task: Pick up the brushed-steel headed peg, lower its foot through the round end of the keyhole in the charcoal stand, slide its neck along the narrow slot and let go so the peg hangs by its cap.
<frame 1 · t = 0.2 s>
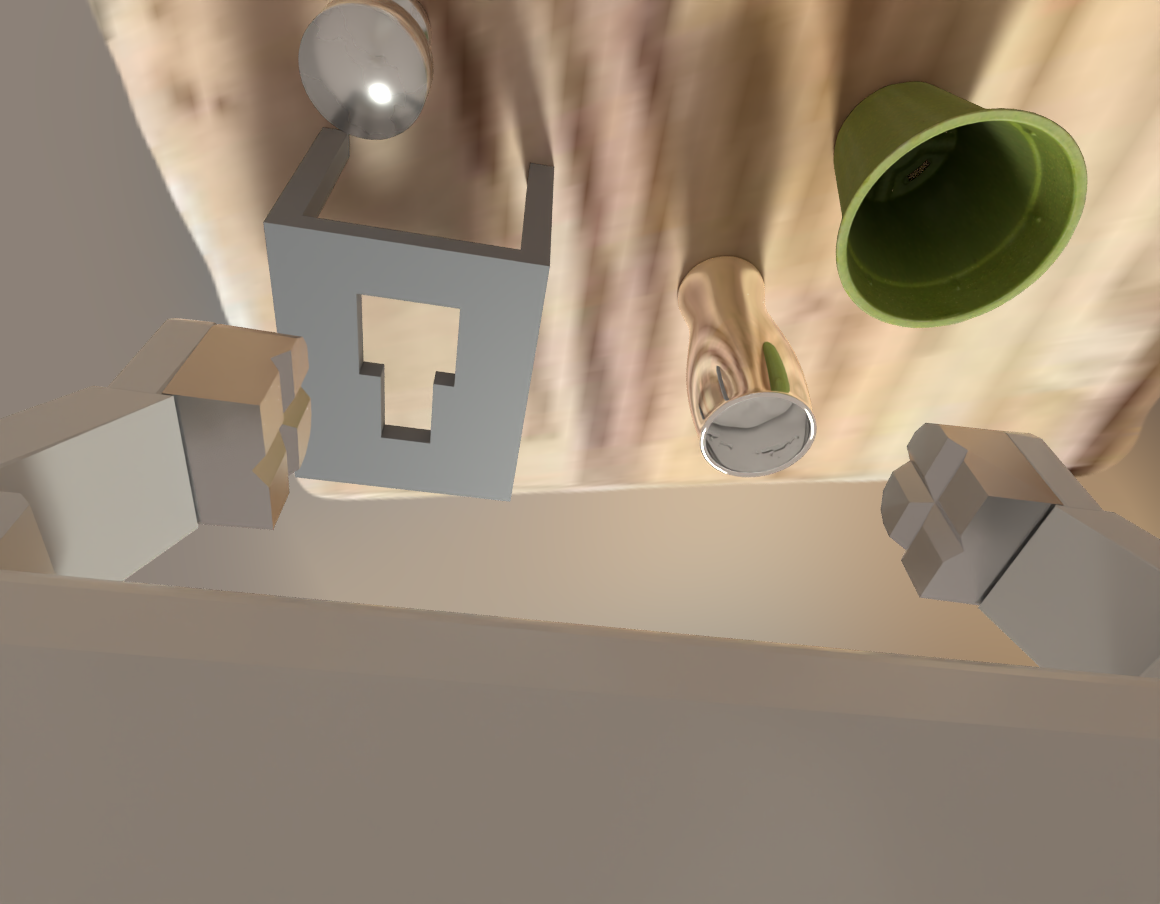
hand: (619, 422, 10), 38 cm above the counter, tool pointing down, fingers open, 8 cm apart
plant pot: (888, 141, 46), on the counter
steel peg: (391, 30, 41), on the counter
beer glass: (719, 292, 53), on the counter
keyhole stand: (434, 275, 52), on the counter
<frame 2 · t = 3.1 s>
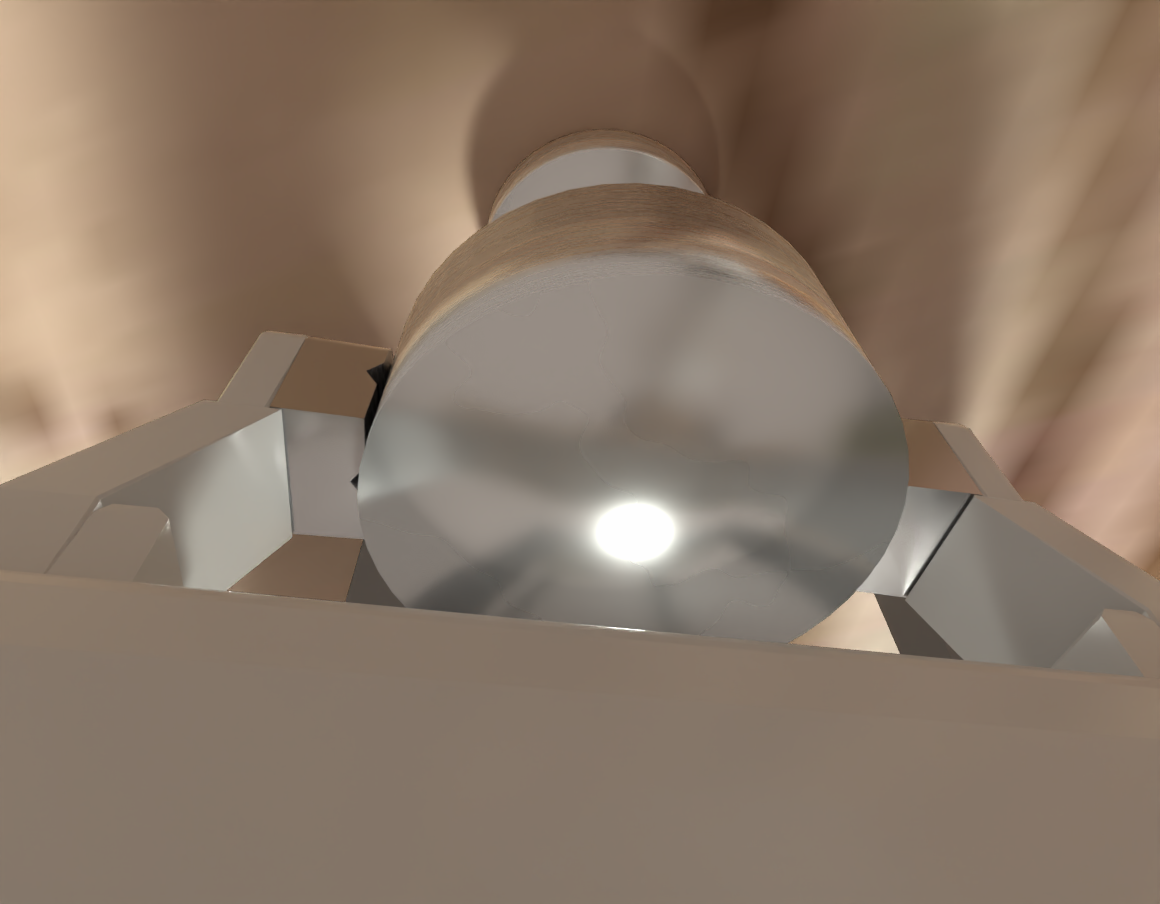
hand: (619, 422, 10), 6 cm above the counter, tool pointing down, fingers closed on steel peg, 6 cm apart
steel peg: (601, 250, 14), on the counter, touching gripper
keyhole stand: (605, 709, 24), on the counter
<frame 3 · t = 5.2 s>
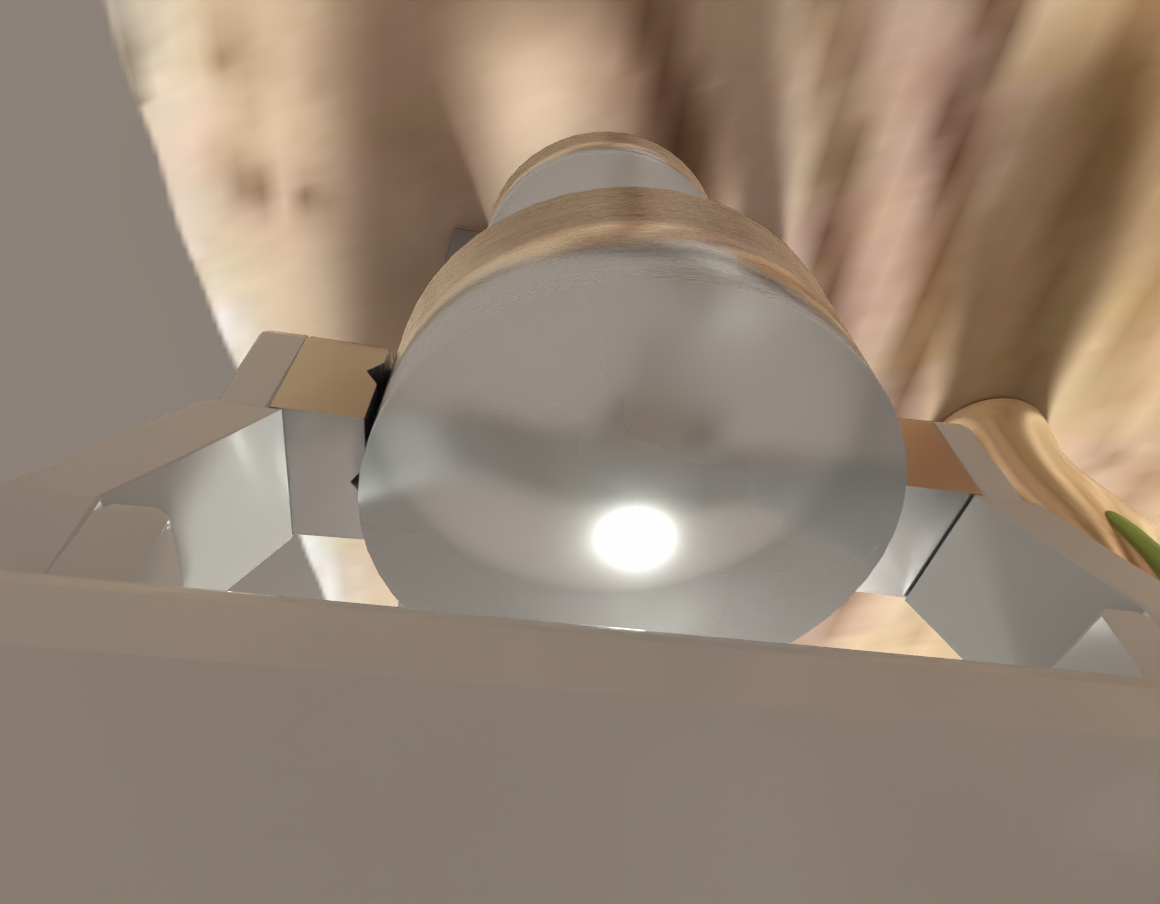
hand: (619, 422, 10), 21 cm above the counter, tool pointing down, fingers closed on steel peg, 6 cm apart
steel peg: (601, 252, 14), point 16 cm above the counter, touching gripper
beer glass: (979, 444, 38), on the counter
keyhole stand: (585, 429, 36), on the counter
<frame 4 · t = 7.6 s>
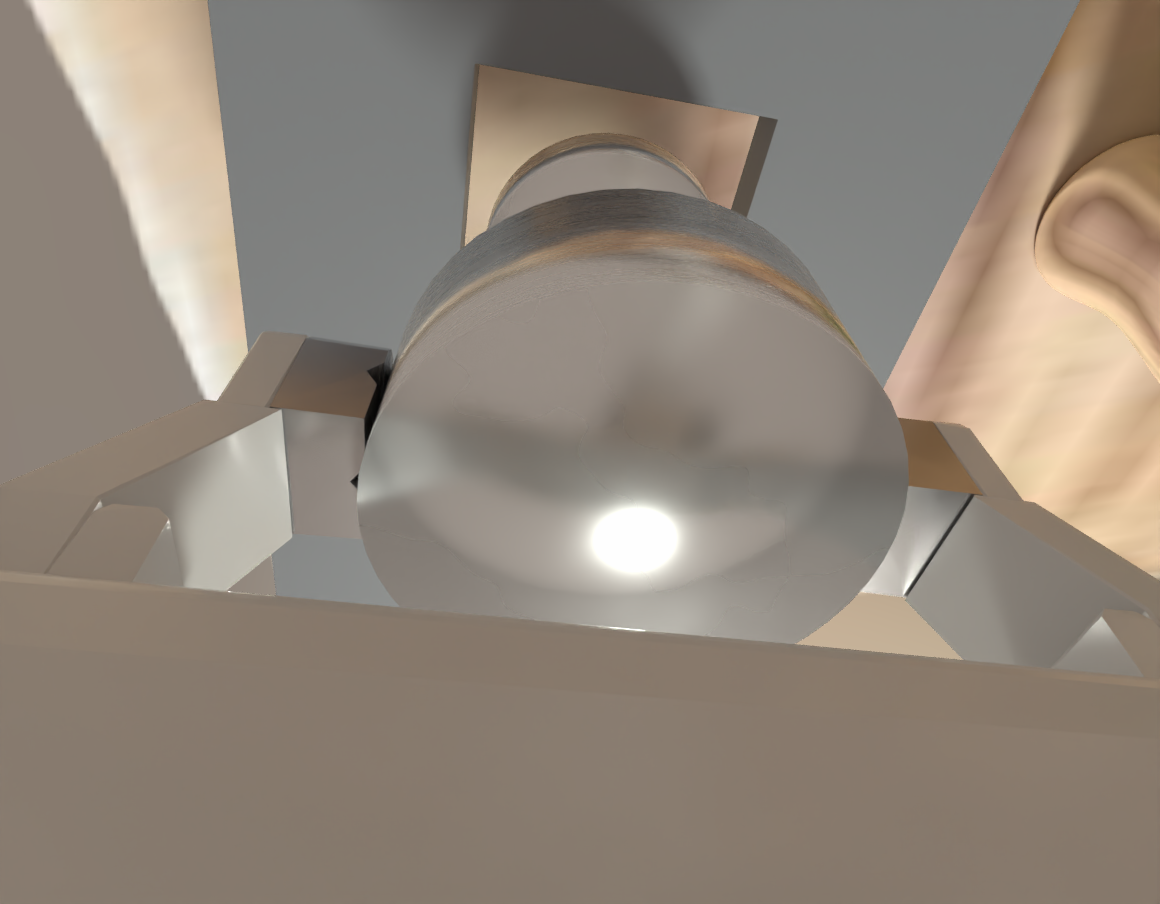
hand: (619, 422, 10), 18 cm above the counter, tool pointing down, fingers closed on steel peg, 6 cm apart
steel peg: (601, 253, 14), point 12 cm above the counter, touching gripper
beer glass: (1118, 218, 27), on the counter
keyhole stand: (569, 183, 26), on the counter
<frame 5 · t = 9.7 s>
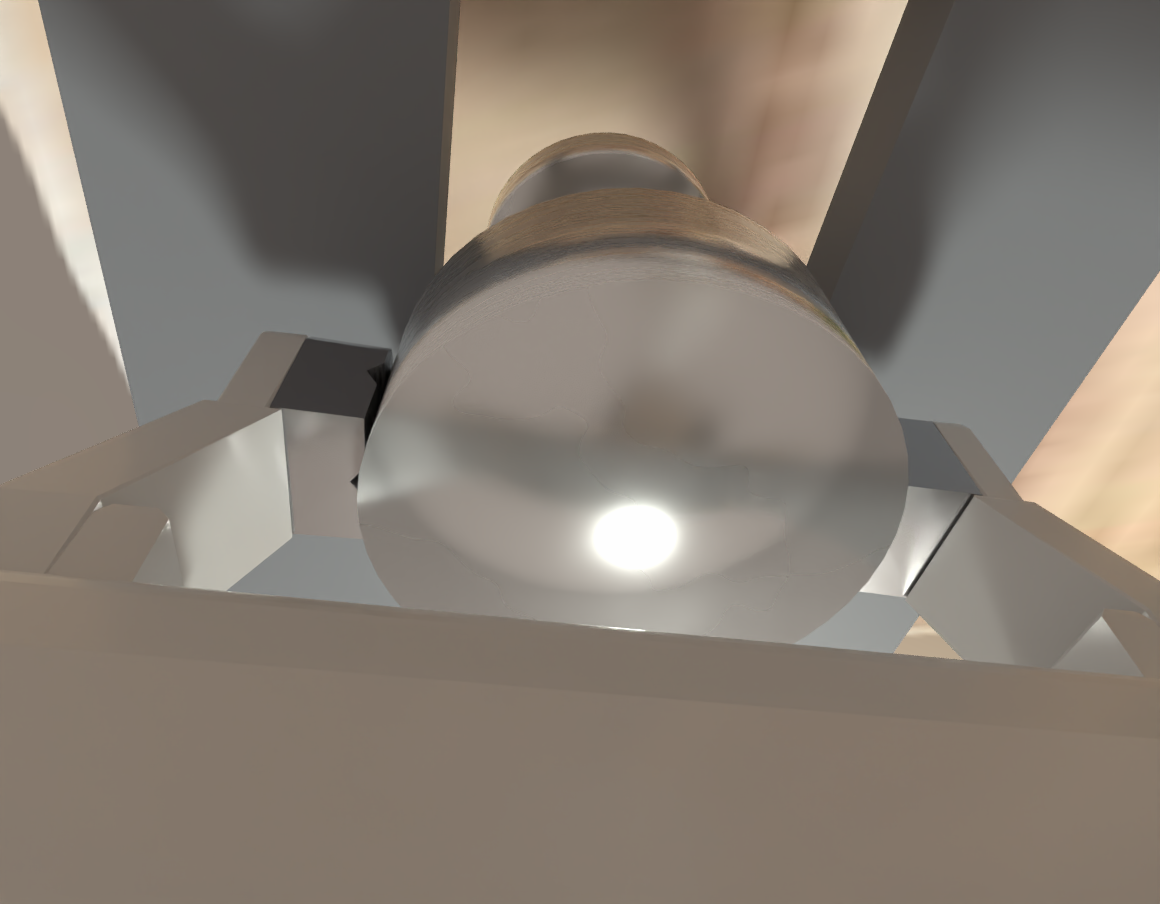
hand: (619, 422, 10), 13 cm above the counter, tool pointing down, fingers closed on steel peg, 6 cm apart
steel peg: (601, 253, 14), point 8 cm above the counter, touching gripper
keyhole stand: (587, 148, 21), on the counter
when the fingers open (13 cm above the counter, at t = 11.9 s): steel peg stays where it is, resting on keyhole stand.
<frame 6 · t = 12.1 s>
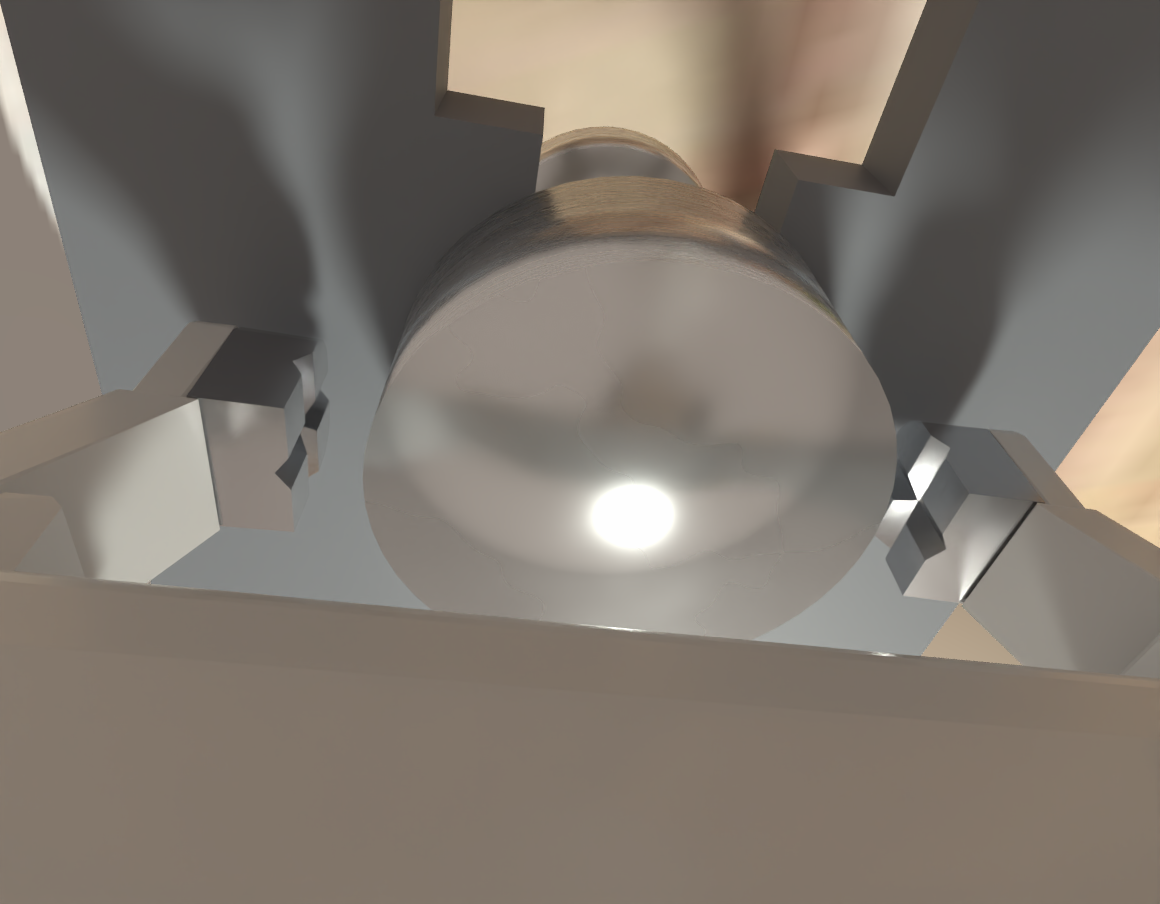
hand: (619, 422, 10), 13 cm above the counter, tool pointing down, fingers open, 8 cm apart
steel peg: (600, 245, 15), point 7 cm above the counter, touching keyhole stand
keyhole stand: (610, 19, 18), on the counter
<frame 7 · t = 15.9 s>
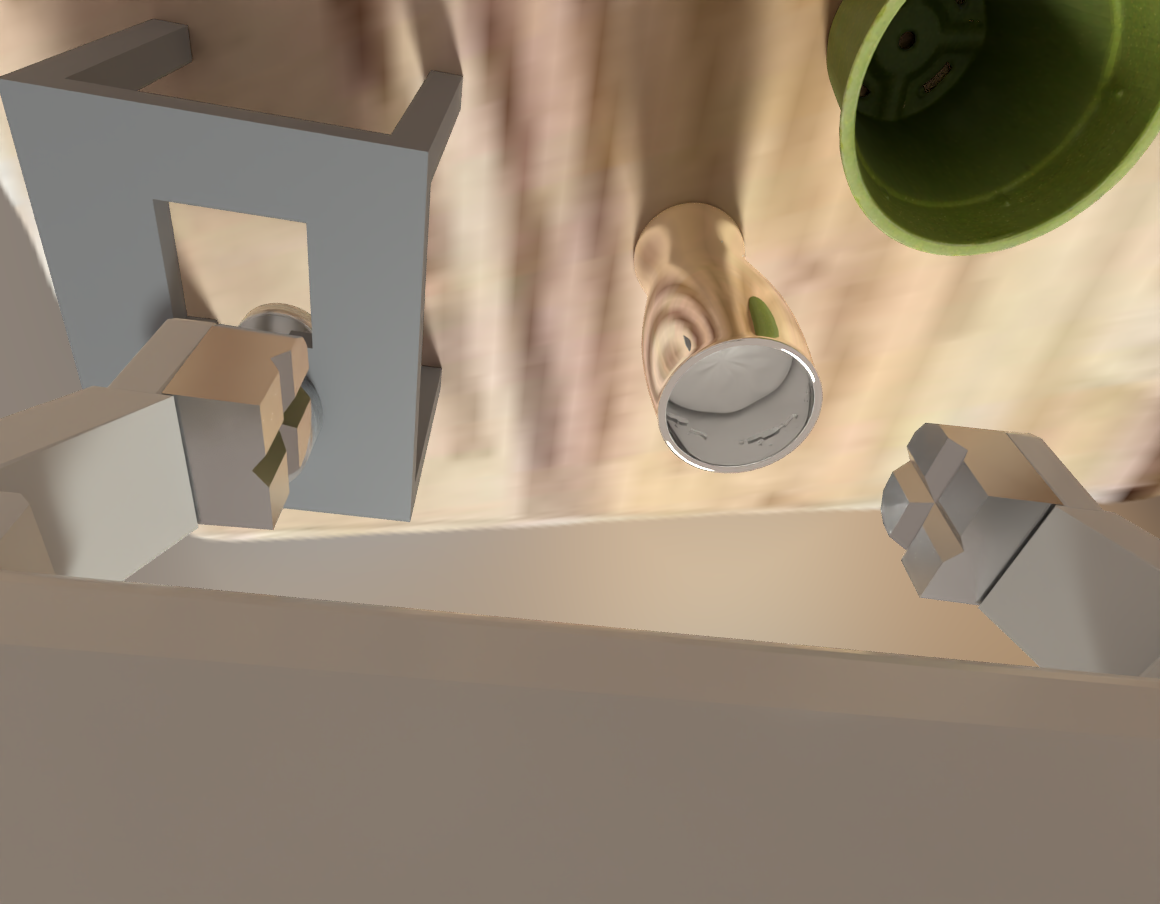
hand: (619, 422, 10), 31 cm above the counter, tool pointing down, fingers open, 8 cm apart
plant pot: (897, 38, 35), on the counter
steel peg: (286, 343, 37), point 7 cm above the counter, touching keyhole stand
beer glass: (687, 254, 42), on the counter
keyhole stand: (319, 232, 40), on the counter
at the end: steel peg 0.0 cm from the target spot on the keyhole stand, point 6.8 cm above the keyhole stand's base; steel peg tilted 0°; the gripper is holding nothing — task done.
